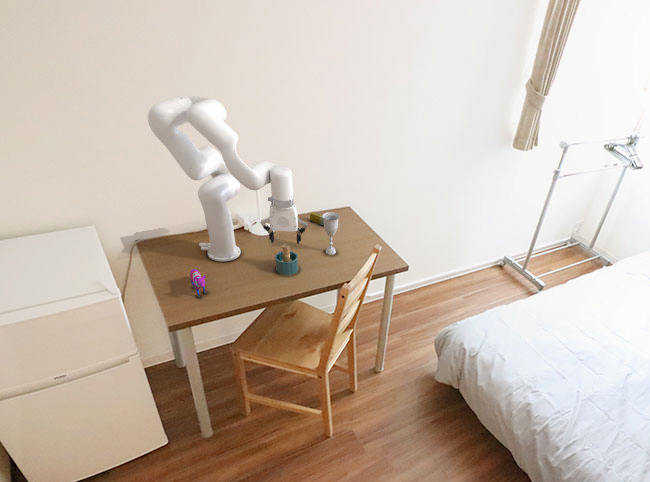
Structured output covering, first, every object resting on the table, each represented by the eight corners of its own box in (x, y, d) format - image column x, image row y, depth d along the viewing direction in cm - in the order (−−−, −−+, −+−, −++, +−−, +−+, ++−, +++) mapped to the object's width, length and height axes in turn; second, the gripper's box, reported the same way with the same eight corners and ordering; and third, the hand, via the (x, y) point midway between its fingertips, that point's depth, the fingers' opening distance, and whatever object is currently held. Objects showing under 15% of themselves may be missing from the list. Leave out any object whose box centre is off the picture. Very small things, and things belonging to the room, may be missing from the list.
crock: (274, 275, 184) (273, 262, 180) (277, 263, 191) (276, 250, 186) (297, 276, 186) (296, 263, 182) (299, 264, 192) (298, 251, 188)
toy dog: (201, 304, 164) (196, 281, 158) (187, 278, 174) (181, 255, 168) (212, 302, 166) (207, 278, 160) (197, 276, 176) (192, 253, 170)
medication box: (333, 226, 221) (334, 219, 219) (330, 228, 219) (331, 220, 217) (312, 218, 224) (312, 211, 221) (309, 220, 221) (309, 212, 219)
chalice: (334, 258, 200) (335, 221, 189) (320, 254, 200) (319, 217, 189) (341, 250, 206) (342, 214, 194) (326, 247, 206) (326, 210, 195)
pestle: (281, 271, 186) (279, 248, 179) (282, 265, 189) (281, 242, 182) (291, 271, 187) (290, 248, 180) (292, 266, 190) (291, 243, 183)
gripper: (256, 204, 165) (260, 245, 175) (306, 207, 168) (307, 247, 179) (259, 195, 170) (263, 235, 181) (307, 198, 174) (309, 238, 184)
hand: (285, 241), depth 180 cm, fingers open, 9 cm apart
